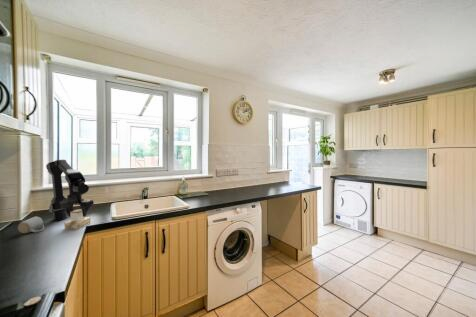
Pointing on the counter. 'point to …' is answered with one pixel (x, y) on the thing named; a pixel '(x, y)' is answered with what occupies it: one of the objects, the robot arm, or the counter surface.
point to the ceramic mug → (31, 225)
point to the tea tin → (77, 215)
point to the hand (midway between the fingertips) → (77, 216)
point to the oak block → (77, 223)
